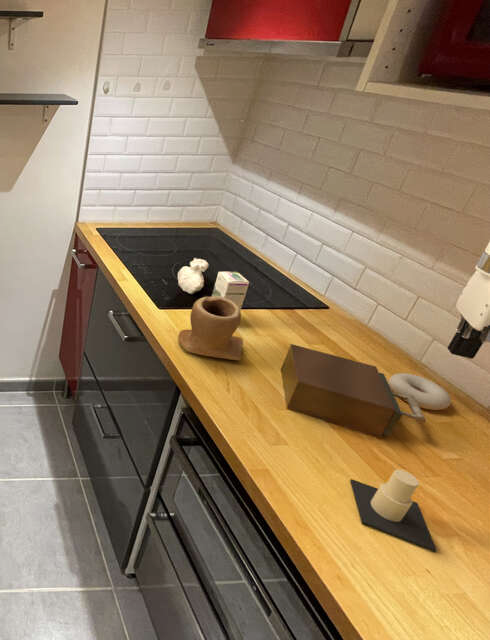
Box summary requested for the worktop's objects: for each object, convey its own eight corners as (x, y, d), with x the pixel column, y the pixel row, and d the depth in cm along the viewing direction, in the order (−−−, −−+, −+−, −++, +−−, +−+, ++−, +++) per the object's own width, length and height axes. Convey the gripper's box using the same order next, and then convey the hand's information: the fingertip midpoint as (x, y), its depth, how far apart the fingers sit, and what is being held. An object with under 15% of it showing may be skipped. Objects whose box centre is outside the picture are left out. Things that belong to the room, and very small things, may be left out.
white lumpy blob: (196, 303, 138) (226, 279, 134) (180, 290, 136) (210, 265, 133) (180, 284, 149) (207, 261, 145) (165, 271, 147) (192, 248, 144)
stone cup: (180, 359, 110) (195, 308, 104) (175, 332, 121) (188, 284, 115) (249, 373, 106) (269, 321, 100) (238, 344, 116) (254, 295, 110)
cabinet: (362, 393, 101) (376, 366, 98) (379, 438, 89) (395, 409, 86) (280, 369, 108) (290, 343, 105) (286, 408, 96) (298, 381, 93)
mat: (415, 505, 76) (417, 502, 76) (435, 552, 69) (436, 550, 69) (349, 481, 80) (351, 478, 80) (361, 523, 73) (363, 521, 73)
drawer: (401, 402, 97) (413, 381, 95) (423, 446, 86) (436, 424, 84) (294, 371, 106) (303, 351, 103) (302, 408, 95) (311, 387, 93)
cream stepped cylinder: (397, 506, 75) (418, 473, 72) (405, 526, 72) (427, 493, 69) (367, 495, 77) (386, 462, 74) (373, 514, 74) (393, 481, 71)
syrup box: (236, 327, 123) (251, 281, 117) (214, 326, 124) (228, 281, 118) (225, 315, 129) (239, 271, 123) (205, 315, 129) (217, 270, 123)
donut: (391, 402, 99) (454, 420, 94) (397, 390, 97) (461, 408, 92) (381, 376, 106) (438, 391, 102) (387, 364, 105) (445, 379, 100)
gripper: (569, 293, 69) (507, 385, 76) (519, 256, 81) (470, 339, 88) (501, 280, 72) (448, 370, 80) (462, 247, 84) (419, 327, 92)
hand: (459, 353), depth 84 cm, fingers closed
